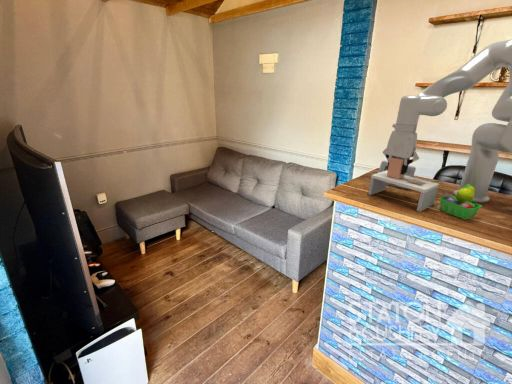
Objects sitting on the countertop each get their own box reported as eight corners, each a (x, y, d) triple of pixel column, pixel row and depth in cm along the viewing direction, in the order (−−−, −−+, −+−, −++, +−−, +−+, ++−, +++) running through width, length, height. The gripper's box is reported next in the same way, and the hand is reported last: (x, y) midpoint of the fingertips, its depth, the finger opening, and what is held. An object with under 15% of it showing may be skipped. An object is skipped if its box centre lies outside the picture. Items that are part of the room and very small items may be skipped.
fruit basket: (435, 209, 107) (442, 182, 102) (449, 206, 110) (457, 179, 106) (466, 222, 97) (475, 192, 93) (480, 217, 100) (491, 189, 96)
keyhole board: (382, 188, 127) (386, 170, 124) (433, 204, 111) (439, 183, 108) (368, 194, 121) (371, 174, 118) (419, 211, 104) (425, 189, 101)
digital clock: (373, 181, 138) (376, 161, 134) (384, 178, 142) (388, 158, 138) (403, 191, 125) (408, 169, 121) (414, 188, 129) (419, 166, 125)
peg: (391, 180, 120) (396, 155, 116) (402, 183, 116) (408, 158, 112) (385, 182, 117) (390, 157, 113) (396, 186, 113) (402, 159, 109)
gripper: (380, 126, 112) (372, 168, 119) (423, 132, 99) (412, 179, 106) (389, 125, 116) (382, 166, 123) (432, 130, 104) (421, 175, 110)
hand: (396, 171), depth 115 cm, fingers closed on peg, 5 cm apart
